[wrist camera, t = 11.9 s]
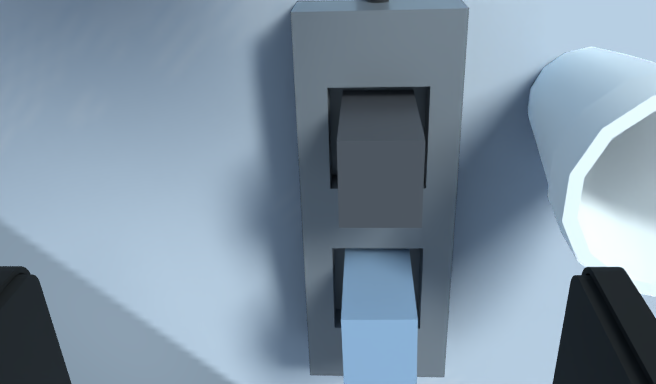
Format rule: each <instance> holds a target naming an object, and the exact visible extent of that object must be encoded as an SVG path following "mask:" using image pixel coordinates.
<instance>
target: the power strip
mask: <svg viewBox="0 0 656 384" xmlns="http://www.w3.org/2000/svg"><path fill="white" fill-rule="evenodd" d="M468 15H469V8H468V7H467V6H466V4H465V3H464V2H463V1H462V0H329V1H297V3H296V4H295V6H294V7H293V9H292V11H291V28H292V47H293V65H294V83H295V102H296V120H297V139H298V157H299V176H300V194H301V213H302V231H303V250H304V268H305V287H306V305H307V324H308V342H309V361H310V375H332V376H344V372H343V352H342V331H341V311H342V294H343V277H344V259H345V248H409V251H410V259H411V268H412V276H413V284H414V292H415V301H416V309H417V317H418V336H417V377H444V374H445V359H446V344H447V329H448V314H449V299H450V284H451V269H452V254H453V239H454V225H455V210H456V195H457V180H458V165H459V150H460V135H461V120H462V105H463V90H464V75H465V60H466V45H467V30H468Z"/></svg>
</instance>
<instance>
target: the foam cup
mask: <svg viewBox="0 0 656 384" xmlns="http://www.w3.org/2000/svg"><path fill="white" fill-rule="evenodd" d="M527 113H528V117H529V121H530V124H531V127H532V131H533V134H534V138H535V141H536V144H537V148H538V151H539V154H540V158H541V161H542V165H543V168H544V171H545V175H546V178H547V181H548V185H549V187H548V193H547V197H548V200H549V202H550V205H551V207H552V210H553V212H554V215H555V218H556V220H557V223H558V225H559V228H560V230H561V233H562V235H563V237H564V238H565V240H566V242H567V244H568V245H569V247H570V249H571V250H572V252H573V254H574V256H575V257H576V259H577V261H578V262H579V263H581V264H582V265H583V266H585V267H622V268H623V269H624V270H625V271H626V272H627V274H628V275H629V277H630V278H631V280H632V282H633V283H634V285H635V286H636V288H637V290H638V291H639V293H640V294H644V295H649V296H654V297H656V62H653V61H649V60H645V59H641V58H637V57H634V56H630V55H626V54H622V53H618V52H614V51H609V50H605V49H601V48H596V47H587V48H582V49H578V50H573V51H569V52H565V53H564V54H562V55H561V56H559V57H558V58H557V59H555V60H554V61H552V62H551V63H549V64H548V65H547V66H545V67H544V68H543V69H542V71H541V73H540V74H539V76H538V77H537V79H536V81H535V82H534V84H533V85H532V87H531V89H530V94H529V102H528V110H527Z"/></svg>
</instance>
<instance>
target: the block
mask: <svg viewBox="0 0 656 384" xmlns="http://www.w3.org/2000/svg"><path fill="white" fill-rule="evenodd" d="M341 331H342V352H343V372H344V384H417V336H418V317H417V309H416V301H415V292H414V284H413V276H412V268H411V259H410V251H409V248H345V259H344V277H343V294H342V311H341Z"/></svg>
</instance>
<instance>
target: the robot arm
mask: <svg viewBox="0 0 656 384" xmlns="http://www.w3.org/2000/svg"><path fill="white" fill-rule="evenodd" d="M0 384H71V381H70V378H69V374H68V371H67V368H66V365H65V362H64V358H63V356H62V352H61V349H60V346H59V342H58V339H57V336H56V333H55V330H54V327H53V323H52V320H51V317H50V314H49V311H48V307H47V304H46V301H45V298H44V295H43V291H42V288H41V285H40V282H39V280H38V278H37V277H36V276H35V275H31V274H30V272H29V271H28V270H27V269H26V268H24V267H22V266H19V267H18V266H12V267H11V266H10V267H9V266H8V267H7V266H3V267H1V266H0ZM553 384H656V318H655V317H654V315H653V313H652V312H651V310H650V309H649V307H648V305H647V304H646V302H645V301H644V299H643V298H642V296H641V294H640V293H639V291H638V290H637V288H636V286H635V285H634V283H633V282H632V280H631V278H630V277H629V275H628V274H627V272H626V271H625V270H624V269H623V268H622V267H586V268H584V270H583V272H582V275H575V276H573V277H572V279H571V283H570V288H569V294H568V300H567V305H566V311H565V317H564V323H563V328H562V334H561V340H560V345H559V351H558V357H557V362H556V368H555V374H554V379H553Z"/></svg>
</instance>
